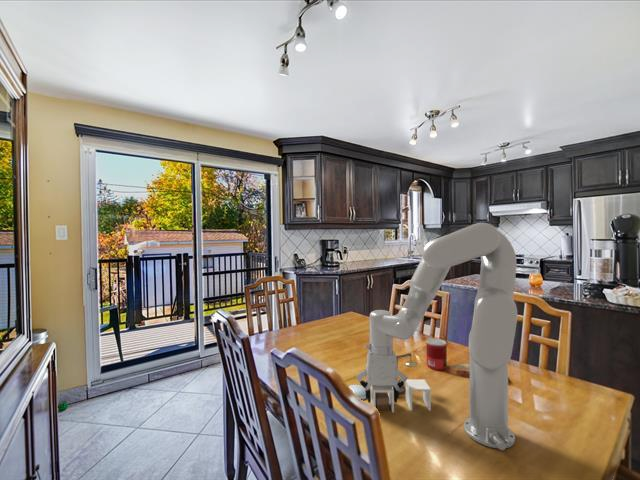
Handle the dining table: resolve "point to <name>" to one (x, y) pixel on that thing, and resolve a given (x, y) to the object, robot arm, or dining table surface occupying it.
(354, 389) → the dish
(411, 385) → the cover
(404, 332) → the robot arm
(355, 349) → the dining table surface
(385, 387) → the cover
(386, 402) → the block
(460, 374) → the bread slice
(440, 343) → the canned food
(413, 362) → the balance
